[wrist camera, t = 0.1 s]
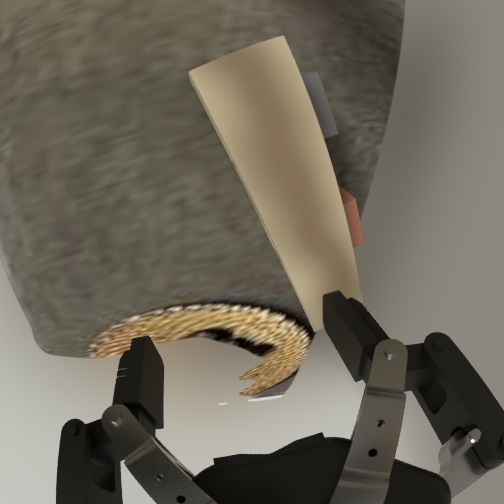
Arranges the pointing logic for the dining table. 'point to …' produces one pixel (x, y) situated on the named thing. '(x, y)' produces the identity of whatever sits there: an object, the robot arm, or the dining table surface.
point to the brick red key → (352, 217)
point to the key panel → (282, 166)
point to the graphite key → (320, 103)
